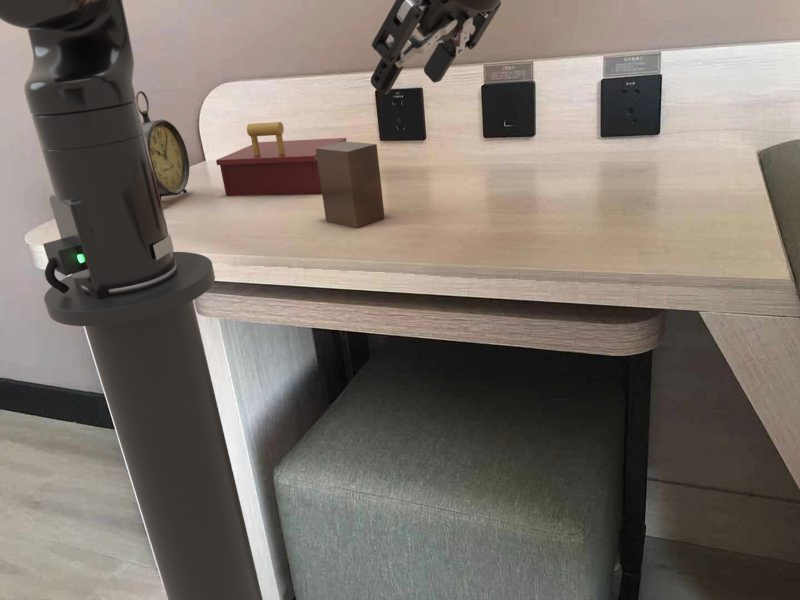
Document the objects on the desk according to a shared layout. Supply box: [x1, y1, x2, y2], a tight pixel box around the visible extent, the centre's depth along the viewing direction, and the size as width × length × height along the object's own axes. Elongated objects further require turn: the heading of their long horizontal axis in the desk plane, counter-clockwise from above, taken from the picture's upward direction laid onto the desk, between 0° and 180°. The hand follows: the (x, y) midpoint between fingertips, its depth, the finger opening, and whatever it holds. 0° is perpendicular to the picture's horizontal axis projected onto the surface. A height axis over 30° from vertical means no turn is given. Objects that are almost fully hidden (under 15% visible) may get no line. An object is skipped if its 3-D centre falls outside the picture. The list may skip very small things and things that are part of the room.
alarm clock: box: [135, 90, 190, 202], centre depth 100 cm, size 11×5×16 cm, turn 170°
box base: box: [219, 160, 322, 197], centre depth 105 cm, size 13×16×5 cm
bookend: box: [316, 140, 386, 229], centre depth 82 cm, size 4×6×9 cm
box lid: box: [215, 121, 347, 166], centre depth 103 cm, size 13×16×5 cm
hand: (405, 82), depth 71 cm, fingers open, 8 cm apart
